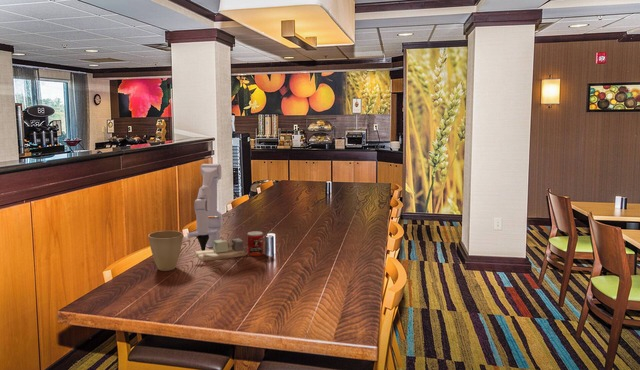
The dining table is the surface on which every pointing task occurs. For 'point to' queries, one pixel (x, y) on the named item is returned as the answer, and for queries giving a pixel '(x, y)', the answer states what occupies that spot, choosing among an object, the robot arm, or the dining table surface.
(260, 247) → the canned food
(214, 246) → the pale green cube
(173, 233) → the plant pot
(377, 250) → the dining table surface
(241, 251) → the stud board
